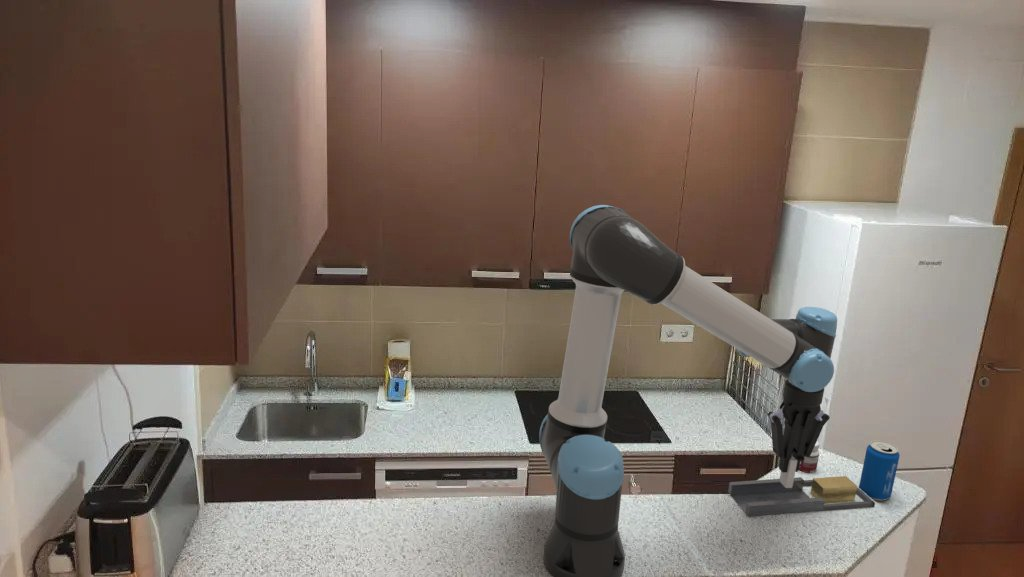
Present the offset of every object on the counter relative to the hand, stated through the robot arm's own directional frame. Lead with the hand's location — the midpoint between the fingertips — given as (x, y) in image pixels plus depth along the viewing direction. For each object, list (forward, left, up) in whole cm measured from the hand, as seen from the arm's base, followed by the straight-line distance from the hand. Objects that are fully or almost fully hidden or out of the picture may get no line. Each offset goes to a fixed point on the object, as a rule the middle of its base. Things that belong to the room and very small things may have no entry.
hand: (785, 484), depth 151 cm
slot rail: (-2, 0, -6) cm, 6 cm away
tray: (+13, 0, -6) cm, 14 cm away
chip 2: (+14, 0, -5) cm, 15 cm away
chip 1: (+10, 0, -5) cm, 11 cm away
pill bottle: (+13, +12, -6) cm, 18 cm away
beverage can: (+24, +2, -6) cm, 24 cm away
